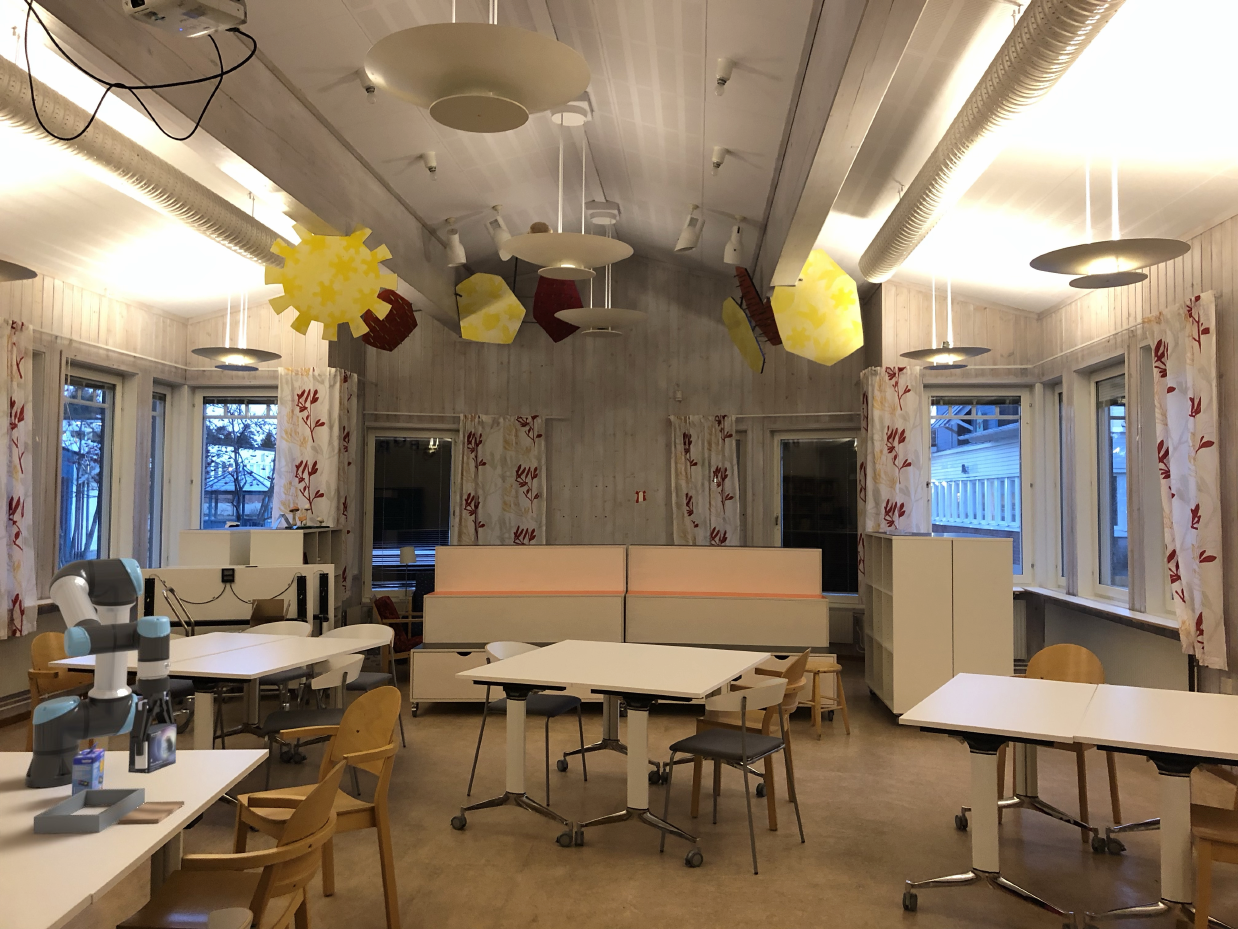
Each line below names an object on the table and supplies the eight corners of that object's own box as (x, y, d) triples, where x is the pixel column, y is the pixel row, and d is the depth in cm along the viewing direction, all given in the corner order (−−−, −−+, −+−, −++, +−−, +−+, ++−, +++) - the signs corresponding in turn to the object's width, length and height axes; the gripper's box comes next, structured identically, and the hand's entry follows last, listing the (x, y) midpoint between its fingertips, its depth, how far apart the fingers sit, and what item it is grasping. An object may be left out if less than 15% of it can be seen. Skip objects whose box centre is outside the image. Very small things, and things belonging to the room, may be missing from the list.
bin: (84, 804, 247) (84, 789, 247) (144, 803, 247) (144, 788, 247) (33, 833, 225) (33, 816, 225) (99, 832, 225) (99, 815, 225)
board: (146, 805, 245) (146, 801, 245) (184, 805, 245) (184, 801, 245) (118, 823, 231) (118, 819, 231) (158, 823, 231) (158, 819, 231)
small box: (149, 774, 233) (150, 732, 233) (127, 773, 234) (127, 731, 235) (177, 763, 243) (177, 722, 244) (155, 762, 244) (156, 722, 245)
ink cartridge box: (93, 802, 249) (93, 748, 249) (70, 804, 247) (71, 749, 248) (104, 791, 258) (105, 739, 259) (83, 793, 257) (83, 740, 258)
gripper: (145, 684, 228) (144, 774, 227) (188, 668, 252) (188, 749, 250) (114, 685, 228) (113, 775, 227) (161, 669, 251) (160, 750, 250)
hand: (152, 761), depth 239 cm, fingers closed on small box, 11 cm apart
